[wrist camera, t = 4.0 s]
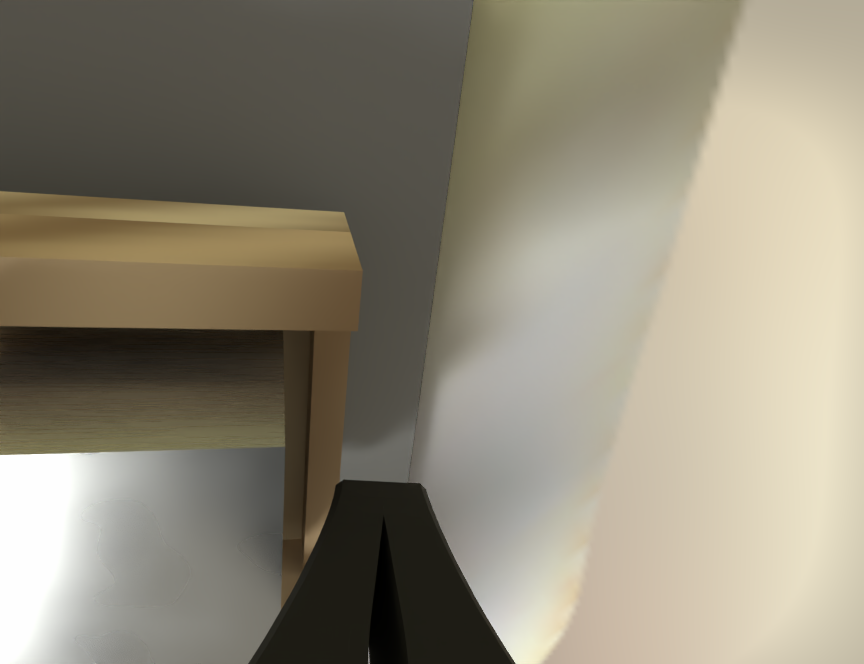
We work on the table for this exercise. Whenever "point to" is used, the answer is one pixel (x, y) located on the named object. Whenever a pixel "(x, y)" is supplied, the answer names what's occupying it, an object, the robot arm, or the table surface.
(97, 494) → the steel block
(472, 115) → the table surface
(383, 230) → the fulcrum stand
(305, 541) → the balance beam
